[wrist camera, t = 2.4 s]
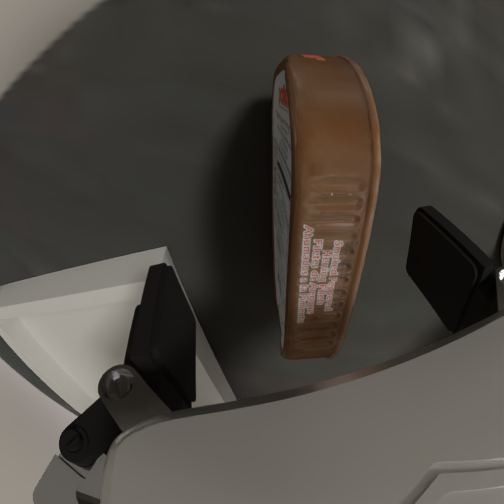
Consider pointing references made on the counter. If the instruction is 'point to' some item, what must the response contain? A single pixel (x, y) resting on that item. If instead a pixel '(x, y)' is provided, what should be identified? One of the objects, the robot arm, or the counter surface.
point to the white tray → (91, 327)
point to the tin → (321, 197)
